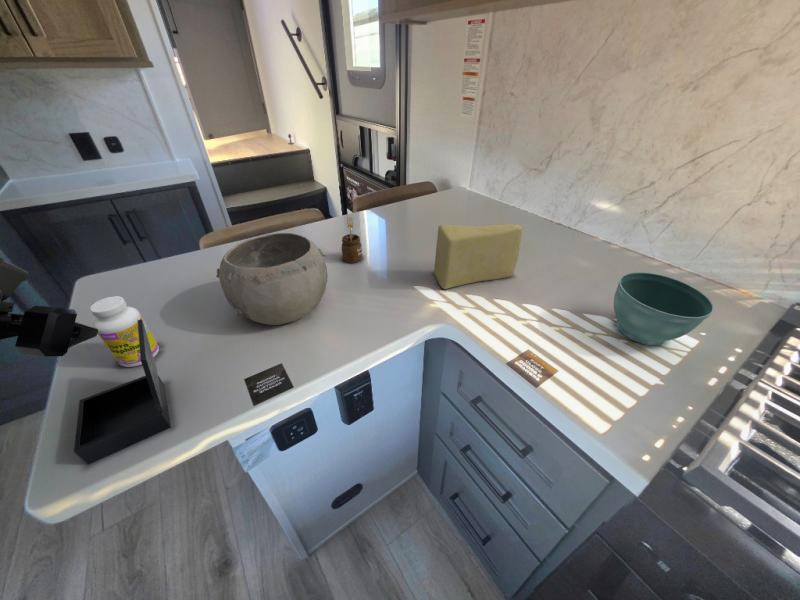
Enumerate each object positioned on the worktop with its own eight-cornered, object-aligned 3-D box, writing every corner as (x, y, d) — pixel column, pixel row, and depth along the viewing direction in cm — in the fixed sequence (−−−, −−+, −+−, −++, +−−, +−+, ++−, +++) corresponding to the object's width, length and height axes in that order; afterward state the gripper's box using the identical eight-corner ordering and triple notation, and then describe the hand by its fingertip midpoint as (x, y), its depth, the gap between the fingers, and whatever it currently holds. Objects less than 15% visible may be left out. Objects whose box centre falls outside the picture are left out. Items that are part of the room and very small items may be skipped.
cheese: (504, 266, 94) (516, 218, 85) (520, 284, 86) (534, 233, 77) (432, 272, 91) (437, 222, 82) (441, 290, 83) (448, 238, 74)
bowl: (301, 270, 90) (292, 219, 81) (350, 305, 77) (345, 249, 68) (217, 302, 77) (195, 246, 68) (258, 351, 64) (237, 290, 55)
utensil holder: (342, 264, 93) (338, 225, 86) (342, 254, 98) (339, 217, 91) (362, 263, 94) (360, 225, 87) (362, 253, 99) (359, 216, 92)
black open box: (88, 464, 45) (73, 451, 43) (91, 413, 52) (79, 400, 50) (170, 427, 50) (161, 413, 48) (164, 385, 57) (155, 371, 55)
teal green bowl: (700, 363, 64) (735, 321, 57) (614, 352, 66) (639, 311, 59) (661, 314, 77) (685, 276, 70) (590, 306, 79) (608, 268, 72)
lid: (140, 359, 42) (146, 358, 43) (137, 320, 49) (142, 319, 49) (157, 413, 48) (162, 411, 48) (152, 370, 54) (157, 369, 55)
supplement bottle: (115, 372, 59) (74, 319, 51) (125, 349, 64) (89, 297, 56) (157, 363, 61) (124, 310, 53) (163, 340, 66) (134, 289, 58)
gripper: (8, 255, 35) (136, 284, 50) (-135, 243, 36) (31, 275, 52) (-23, 358, 33) (119, 355, 48) (-171, 340, 35) (12, 343, 50)
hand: (70, 329), depth 50 cm, fingers open, 9 cm apart
